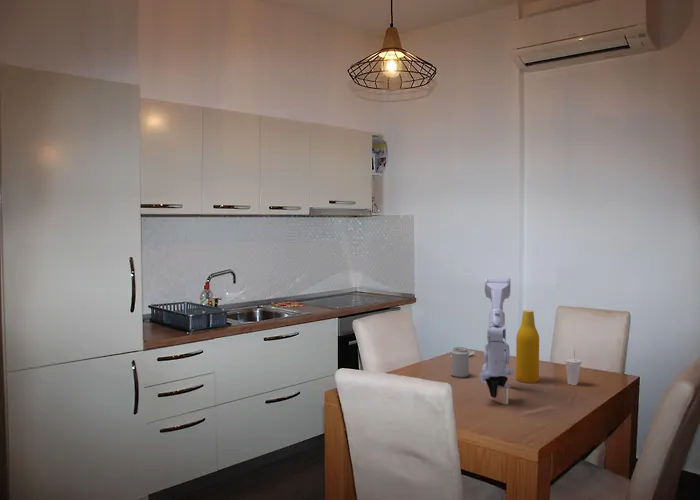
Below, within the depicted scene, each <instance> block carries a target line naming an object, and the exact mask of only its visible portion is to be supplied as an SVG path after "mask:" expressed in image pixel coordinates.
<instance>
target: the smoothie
mask: <svg viewBox="0 0 700 500" xmlns="http://www.w3.org/2000/svg"><path fill="white" fill-rule="evenodd" d="M572 356H573V358H566V359H564V363H565V369H566V379H567V384H568V385H569V384H571V385H570V386H578V385H577V384H578V383H579V379H580V378H579V377H580V371H581V365H582V360H581V359H578V358H577V359H576V358H575V357H576V350H575V349H573V355H572Z"/></svg>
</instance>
